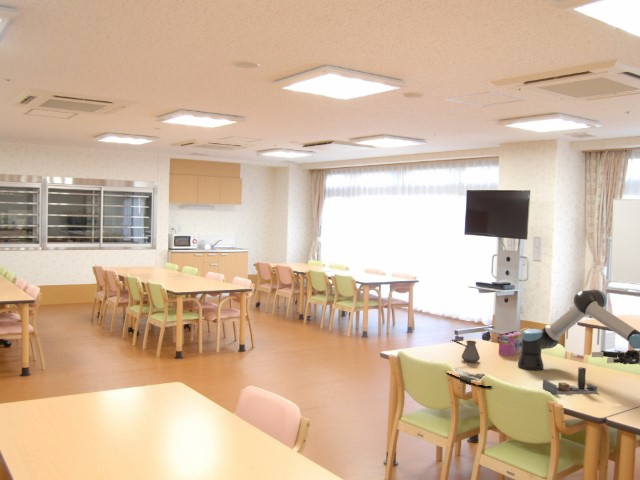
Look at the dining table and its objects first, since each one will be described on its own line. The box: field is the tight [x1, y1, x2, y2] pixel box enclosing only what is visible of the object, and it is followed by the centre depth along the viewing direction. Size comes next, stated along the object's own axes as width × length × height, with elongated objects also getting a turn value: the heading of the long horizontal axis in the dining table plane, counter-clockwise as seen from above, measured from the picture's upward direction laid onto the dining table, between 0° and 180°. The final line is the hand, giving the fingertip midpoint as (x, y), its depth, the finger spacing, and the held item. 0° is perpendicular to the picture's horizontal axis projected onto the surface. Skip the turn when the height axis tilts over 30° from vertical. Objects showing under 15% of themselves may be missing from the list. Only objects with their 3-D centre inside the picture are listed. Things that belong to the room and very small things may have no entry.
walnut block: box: [557, 382, 571, 391], centre depth 317 cm, size 4×4×4 cm
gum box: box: [498, 330, 523, 357], centre depth 410 cm, size 24×8×14 cm, turn 135°
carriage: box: [569, 366, 589, 391], centre depth 318 cm, size 9×5×12 cm, turn 98°
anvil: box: [542, 379, 558, 395], centre depth 315 cm, size 2×11×4 cm, turn 8°
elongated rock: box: [453, 367, 486, 384], centre depth 338 cm, size 35×5×10 cm
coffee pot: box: [449, 339, 481, 364], centre depth 380 cm, size 21×12×15 cm, turn 112°
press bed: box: [552, 383, 599, 395], centre depth 317 cm, size 26×11×4 cm, turn 98°
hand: (599, 357), depth 319 cm, fingers open, 13 cm apart
